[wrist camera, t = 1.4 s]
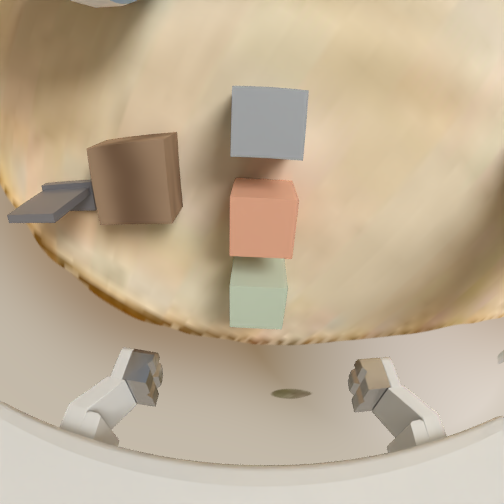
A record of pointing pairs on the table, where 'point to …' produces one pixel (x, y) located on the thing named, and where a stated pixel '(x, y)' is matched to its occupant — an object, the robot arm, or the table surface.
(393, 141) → the table surface
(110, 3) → the retro all-in-one computer
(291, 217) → the terracotta cube
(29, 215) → the tile
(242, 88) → the slate cube
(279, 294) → the sage cube
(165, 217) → the brown curved block
